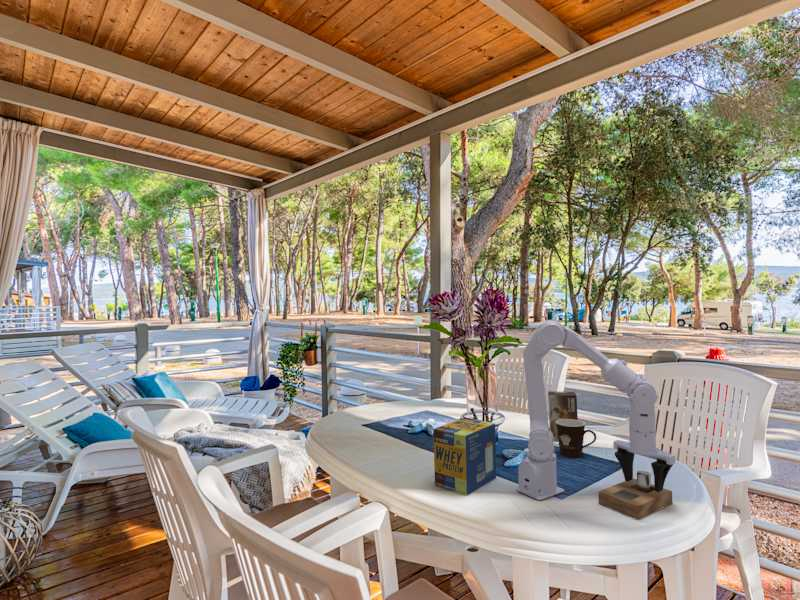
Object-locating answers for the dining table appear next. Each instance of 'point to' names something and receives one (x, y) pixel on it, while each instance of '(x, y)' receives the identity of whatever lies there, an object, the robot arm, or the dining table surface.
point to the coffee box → (561, 408)
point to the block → (634, 499)
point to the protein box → (464, 455)
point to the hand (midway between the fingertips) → (643, 485)
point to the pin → (644, 481)
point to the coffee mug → (571, 437)
